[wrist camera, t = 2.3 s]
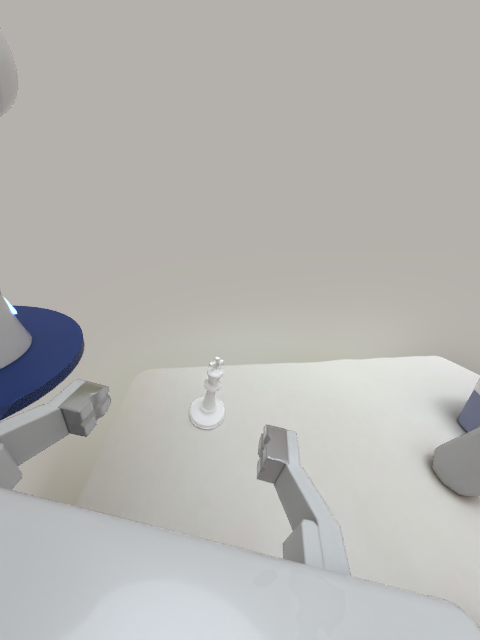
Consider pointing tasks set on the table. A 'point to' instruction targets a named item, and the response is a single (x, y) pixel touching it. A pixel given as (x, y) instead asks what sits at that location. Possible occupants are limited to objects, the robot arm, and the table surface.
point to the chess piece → (209, 400)
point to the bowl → (471, 411)
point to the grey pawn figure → (460, 463)
